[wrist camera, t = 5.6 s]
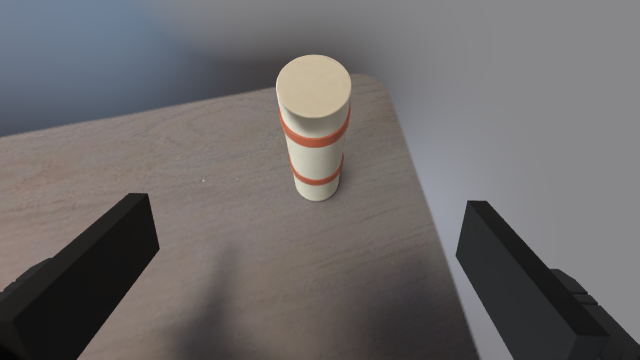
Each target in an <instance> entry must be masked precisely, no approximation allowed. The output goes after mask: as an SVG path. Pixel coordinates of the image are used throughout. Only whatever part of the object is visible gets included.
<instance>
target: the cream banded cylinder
mask: <svg viewBox="0 0 640 360" xmlns="http://www.w3.org/2000/svg"><path fill="white" fill-rule="evenodd" d="M351 88H352V86H351V79H350V76H349V74H348V72H347V71H346V70H345V68H344V67H343V66H342V65H341V64H340V63H339V62H337V61H335V60H334V59H332V58H329V57H326V56H322V55H306V56H302V57H299V58H297V59H294V60H293V61H291V62H289V63H288V64H287V65H286V66H285V67H284V68H283V69H282V71H281V72H280V74H279V76H278V78H277V82H276V92H277V97H278V102H279V116H280V121H281V125H282V128H283V130H284V132H285V136H286V140H287V145H288V150H289V162H290V166H291V170H292V172H293V174H294V179H295V184H296V188H297V190H298V192H299V193H300V194H301V195H302V196H303V197H305V198H306V199H308V200H312V201H322V200H325V199H327V198H329V197H331V196H332V195H333V194H334V193H335V191H336V190H337V187H338V183H339V176H340V171H341V169H342V164H343V147H344V139H345V132H346V129H347V127H348V123H349V117H350V96H351Z"/></svg>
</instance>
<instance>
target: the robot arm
mask: <svg viewBox="0 0 640 360" xmlns="http://www.w3.org/2000/svg"><path fill="white" fill-rule="evenodd" d="M159 249H160V248H159V243H158V238H157V234H156V229H155V224H154V220H153V215H152V211H151V206H150V201H149V197H148V193H129V194H128V195H126V196H125V197H124V198H123V199H122V200H121V201H119V202H118V203H117V204H116V205H115V206H113V207H112V208H111V209H110V210H109V211H108V212H106V213H105V214H104V215H103V216H102V217H100V218H99V219H98V220H97V221H96V222H94V223H93V224H92V225H91V226H90V227H89V228H87V229H86V230H85V231H84V232H83V233H81V234H80V235H79V236H78V237H77V238H75V239H74V240H73V241H72V242H71V243H70V244H68V245H67V246H66V247H65V248H64V249H62V250H61V251H60V252H59V253H58V254H57V255H55V256H54V257H53V258H48V259H46V260H44V261H42V262H40V263H38V264H36V265H35V266H33V267H31V268H29V269H28V270H27V271H26V272H24V273H23V274H22V275H21V276H20V277H18V278H17V279H16V281H15V282H12V283H11V284H10V285H8V286H7V287H6V288H5V289H4V291H3V292H0V360H77V358H78V357H79V356H80V354H81V353H82V352H83V350H84V349H85V348H86V346H87V345H88V344H89V342H90V341H91V340H92V338H93V337H94V336H95V334H96V333H97V332H98V330H99V329H100V328H101V326H102V325H103V324H104V323H105V321H106V320H107V319H108V317H109V316H110V315H111V313H112V312H113V311H114V309H115V308H116V307H117V305H118V304H119V303H120V301H121V300H122V299H123V297H124V296H125V295H126V293H127V292H128V291H129V289H130V288H131V287H132V285H133V284H134V283H135V281H136V280H137V279H138V277H139V276H140V275H141V273H142V272H143V271H144V269H145V268H146V267H147V265H148V264H149V263H150V261H151V260H152V259H153V257H154V256H155V255H156V253H157V252H158V251H159ZM456 258H457V259H458V261H459V263H460V265H461V266H462V268H463V270H464V272H465V274H466V275H467V277H468V279H469V281H470V282H471V284H472V286H473V288H474V290H475V291H476V293H477V295H478V297H479V298H480V300H481V302H482V303H483V305H484V307H485V309H486V311H487V313H488V314H489V316H490V318H491V320H492V321H493V323H494V325H495V327H496V328H497V330H498V332H499V334H500V336H501V337H502V339H503V341H504V342H505V344H506V346H507V348H508V350H509V352H510V353H511V355H512V357H513V359H514V360H640V345H639V344H638V343H637V342H636V341H635V340H634V339H633V338H632V337H631V336H630V335H629V334H628V333H627V332H626V331H625V330H624V329H623V328H622V327H621V326H620V325H619V324H618V323H617V322H616V321H615V320H614V319H613V318H612V317H611V316H610V315H609V314H608V313H607V312H606V311H605V310H604V309H603V308H602V307H601V306H598V303H597V302H596V301H595V299H594V298H593V297H592V296H591V295H588V292H587V291H586V290H585V289H584V288H583V287H582V286H581V285H580V284H579V283H578V282H577V281H576V280H575V279H573V278H571V277H570V276H568V275H567V274H565V273H564V272H562V271H561V270H559V269H549V268H548V267H547V266H546V265H545V264H544V263H543V262H542V261H541V260H540V259H539V257H538V256H537V255H536V254H535V253H534V252H533V251H532V250H531V249H530V248H529V247H528V246H527V245H526V243H525V242H524V241H523V240H522V239H521V238H520V237H519V236H518V235H517V234H516V233H515V231H514V230H513V229H512V228H511V227H510V226H509V225H508V224H507V223H506V222H505V221H504V219H503V218H502V217H501V216H500V215H499V214H498V213H497V212H496V211H495V210H494V209H493V207H492V206H491V205H490V204H489V203H488V202H487V201H467V206H466V210H465V215H464V220H463V224H462V229H461V233H460V238H459V243H458V247H457V252H456Z"/></svg>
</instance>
